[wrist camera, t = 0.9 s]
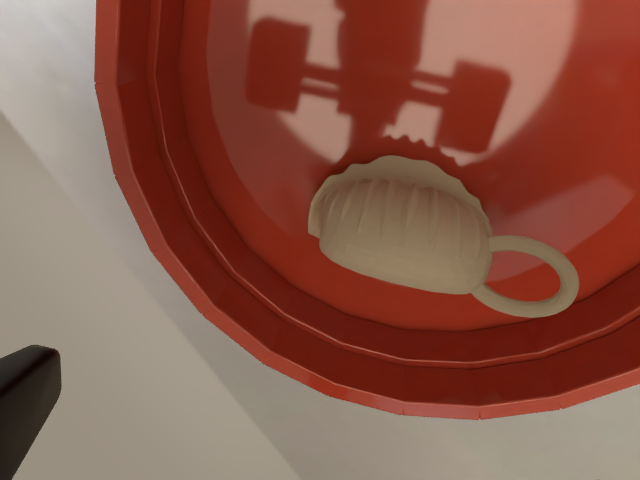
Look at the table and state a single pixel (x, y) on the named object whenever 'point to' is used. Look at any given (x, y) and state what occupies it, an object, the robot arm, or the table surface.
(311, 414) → the table surface
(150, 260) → the table surface
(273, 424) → the table surface
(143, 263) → the table surface
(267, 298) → the bowl
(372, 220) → the decorative ornament
